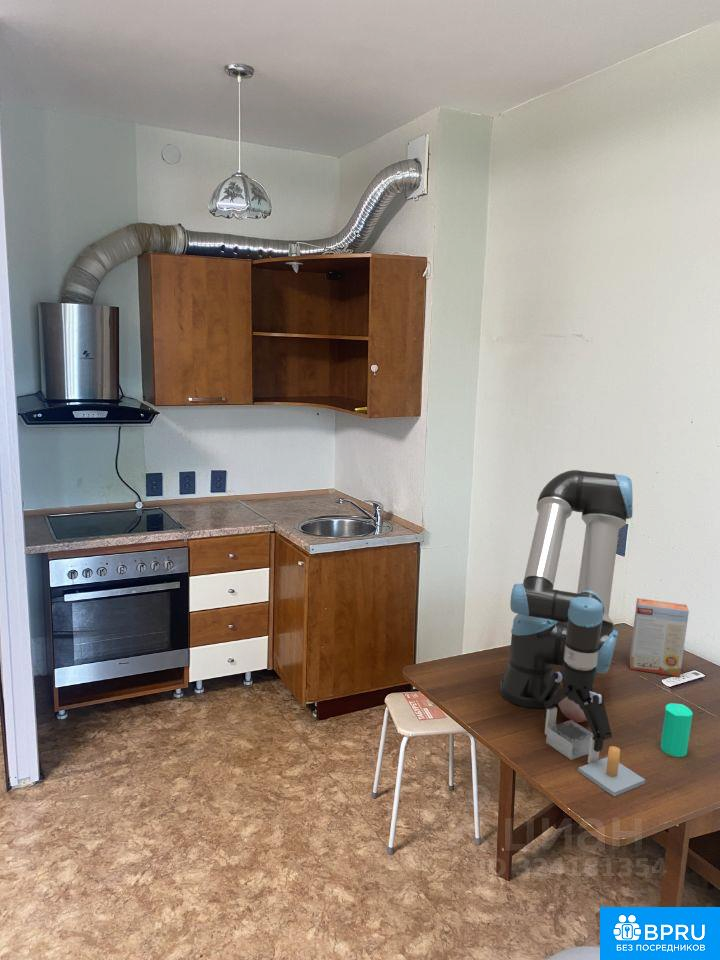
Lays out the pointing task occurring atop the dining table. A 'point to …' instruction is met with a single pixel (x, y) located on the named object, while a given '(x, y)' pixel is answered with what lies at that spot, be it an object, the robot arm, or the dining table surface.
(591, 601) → the robot arm
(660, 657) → the cracker box
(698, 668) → the dining table surface
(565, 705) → the decorative fruit
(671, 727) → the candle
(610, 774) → the keeper
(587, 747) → the gray square frame
